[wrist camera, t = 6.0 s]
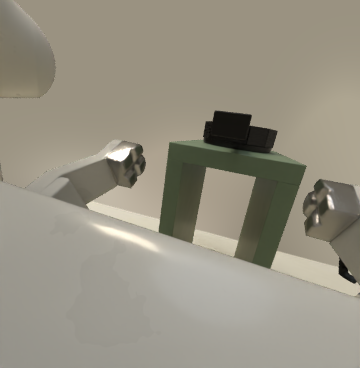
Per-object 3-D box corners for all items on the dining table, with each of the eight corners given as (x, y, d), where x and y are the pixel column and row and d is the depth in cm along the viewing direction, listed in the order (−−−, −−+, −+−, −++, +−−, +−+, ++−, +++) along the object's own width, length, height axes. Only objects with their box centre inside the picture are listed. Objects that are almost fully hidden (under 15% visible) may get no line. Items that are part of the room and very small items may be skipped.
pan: (334, 190, 8) (365, 116, 7) (135, 151, 11) (139, 93, 10) (265, 150, 32) (271, 132, 32) (209, 141, 35) (212, 124, 34)
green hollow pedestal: (240, 352, 25) (307, 165, 17) (148, 310, 28) (169, 141, 21) (241, 265, 41) (275, 151, 34) (183, 246, 45) (201, 139, 37)
